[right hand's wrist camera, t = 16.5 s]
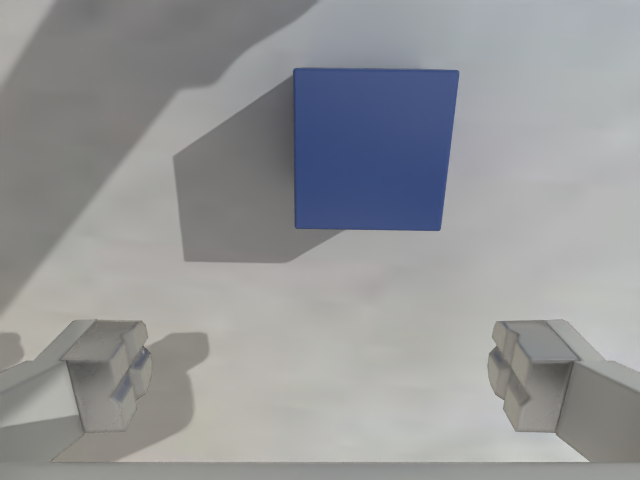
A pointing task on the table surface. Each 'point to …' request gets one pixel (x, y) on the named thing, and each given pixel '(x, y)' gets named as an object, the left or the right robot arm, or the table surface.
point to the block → (372, 147)
